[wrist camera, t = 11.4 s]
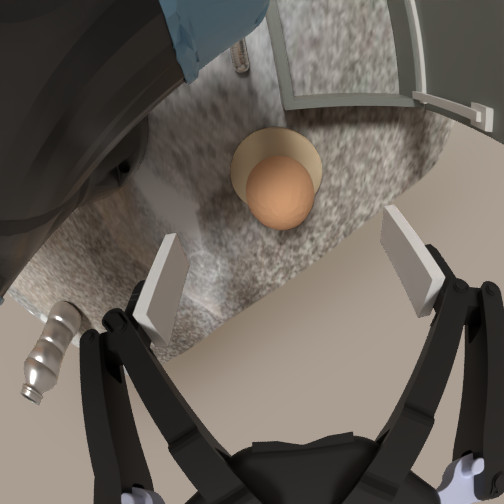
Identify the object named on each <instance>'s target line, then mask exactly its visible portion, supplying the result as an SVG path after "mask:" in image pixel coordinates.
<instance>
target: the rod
mask: <svg viewBox="0 0 504 504" xmlns="http://www.w3.org/2000/svg"><path fill="white" fill-rule="evenodd" d="M230 52H231V56H232V61H233V66H234V69H235V70H236V71H237V72H239V73H243V72H246V71H247V70H248V69H249V61H248V56H247V51H246V46H245V41H244V38H242V39H241V40H239V41H238V42H237V43H235V44H234V45H232V46H231V47H230Z"/></svg>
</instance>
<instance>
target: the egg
mask: <svg viewBox="0 0 504 504" xmlns="http://www.w3.org/2000/svg"><path fill="white" fill-rule="evenodd" d="M246 199H247V203H248V206H249V208H250V211H251V212H252V213H253V215H254V216H255V217H256V218H257V219H258V220H259V221H260V222H261V223H262V224H264V225H265V226H267V227H270V228H272V229H276V230H288V229H291V228H294V227H296V226H297V225H299V224H300V223H302V221H303V220H304V219H305V218H306V217H307V215H308V214H309V212H310V210H311V208H312V206H313V202H314V187H313V182H312V179H311V177H310V174H309V173H308V171H307V170H306V168H305V167H304V166H303V165H302V164H301V163H299V162H298V161H296V160H295V159H292V158H290V157H286V156H271V157H268V158H266V159H263V160H262V161H261V162H259V163H258V164H256V166H255V167H254V168H253V169H252V170H251V172H250V174H249V176H248V179H247V183H246Z"/></svg>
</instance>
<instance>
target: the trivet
mask: <svg viewBox="0 0 504 504" xmlns="http://www.w3.org/2000/svg"><path fill="white" fill-rule="evenodd" d="M271 156H286V157H290V158H292V159H295V160H296V161H298V162H299V163H301V164H302V165H303V166H304V167H305V168H306V170H307V171H308V173H309V174H310V177H311V179H312V182H313V187H314V195H315V194H316V192H317V190H318V188H319V186H320V183H321V179H322V164H321V160H320V157H319V155H318V153H317V151H316V149H315V148H314V146H313V145H312V144H311V143H310V141H309V140H308V139H307V138H305V137H304V136H303V135H301V134H300V133H298V132H296V131H294V130H291V129H288V128H283V127H268V128H263V129H260V130H258V131H256V132H254V133H252V134H250V135H249V136H247V137H246V138H245V139H244V140H243V141H242V142H241V143H240V144H239V146H238V147H237V149H236V151H235V153H234V155H233V159H232V162H231V168H230V176H231V182H232V185H233V188H234V190H235V192H236V193H237V195H238V196H239V197H240V199H241V200H242V201H243V202H245V203H246V204H247V205H248V203H247V199H246V183H247V179H248V176H249V174H250V172H251V170H252V169H253V168H254V167H255V166H256V164H258V163H259V162H261V161H262V160H263V159H266V158H268V157H271Z"/></svg>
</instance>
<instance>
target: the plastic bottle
mask: <svg viewBox="0 0 504 504" xmlns="http://www.w3.org/2000/svg"><path fill="white" fill-rule="evenodd" d="M80 326H81V315H80V313H79V312H78V310H77V309H76V308H75V307H73V306H72V305H71V304H69V303H67V302H64V301H60V302H57V303H56V304H55V305H54V306H53V307H52V308H51V310H50V313H49V316H48V320H47V322H46V325H45V327H44V330H43V332H42V334H41V336H40V338H39V340H38V341H37V343H36V345H35V347H34V348H33V350H32V351H31V353H30V354H29V356H28V358H27V359H26V361H25V363H24V374H25V378H26V384H23V388H22V390H21V394H22V395H23V396H24V397H25V398H27V399H28V400H30V401H31V402H33V403H35V404H37V405H39V404H40V402H41V399H42V398H43V396H42V394H43V393H44V392H46V391H48V390H50V389H52V388H53V387H54V386H55V385H56V383H57V380H58V375H59V371H60V367H61V363H62V360H63V356H64V355H65V352H66V350H67V348H68V346H69V344H70V342H71V341H72V339H73V337H74V336H75V335H76V334H77V332H78V331H79V329H80Z"/></svg>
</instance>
